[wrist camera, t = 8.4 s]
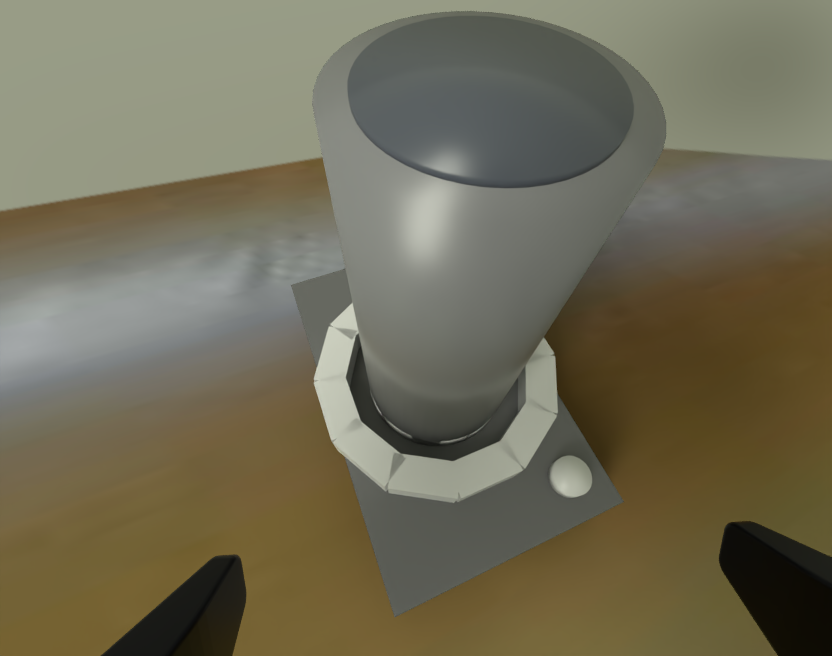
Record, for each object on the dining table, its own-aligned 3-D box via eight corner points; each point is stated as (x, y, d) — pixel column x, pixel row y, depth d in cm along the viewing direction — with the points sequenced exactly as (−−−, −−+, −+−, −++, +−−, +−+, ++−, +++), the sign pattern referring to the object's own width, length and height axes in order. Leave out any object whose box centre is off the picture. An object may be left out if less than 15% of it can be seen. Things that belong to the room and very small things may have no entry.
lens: (526, 401, 16) (752, 125, 6) (413, 474, 15) (436, 276, 4) (448, 300, 19) (507, -26, 8) (343, 353, 17) (248, 35, 7)
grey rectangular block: (594, 507, 17) (645, 495, 14) (391, 608, 15) (387, 626, 12) (456, 269, 23) (466, 217, 20) (301, 318, 21) (280, 270, 18)
